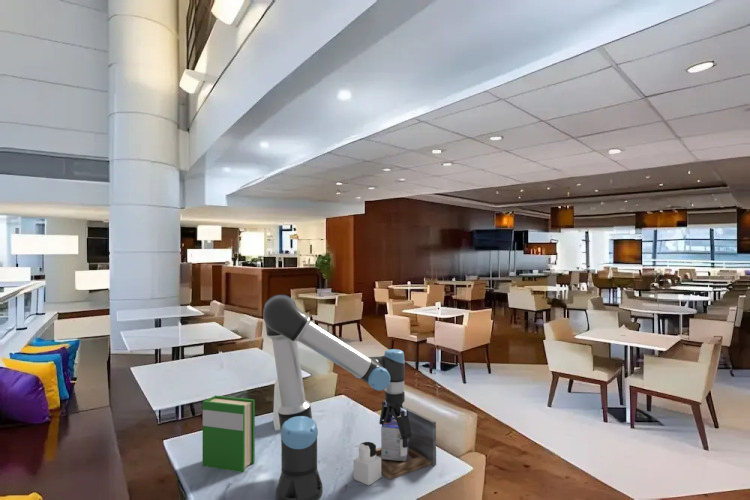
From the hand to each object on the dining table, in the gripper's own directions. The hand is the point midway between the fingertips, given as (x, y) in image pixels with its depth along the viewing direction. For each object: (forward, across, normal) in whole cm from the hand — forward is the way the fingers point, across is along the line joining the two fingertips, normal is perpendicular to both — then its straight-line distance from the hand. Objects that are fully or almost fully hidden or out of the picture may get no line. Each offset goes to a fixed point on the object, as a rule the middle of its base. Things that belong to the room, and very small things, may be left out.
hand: (394, 449), depth 162 cm
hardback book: (+5, +34, +53) cm, 63 cm away
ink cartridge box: (+3, 0, 0) cm, 3 cm away
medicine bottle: (+5, -4, +15) cm, 16 cm away
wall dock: (+5, 0, -1) cm, 5 cm away
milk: (+5, +59, +20) cm, 62 cm away
